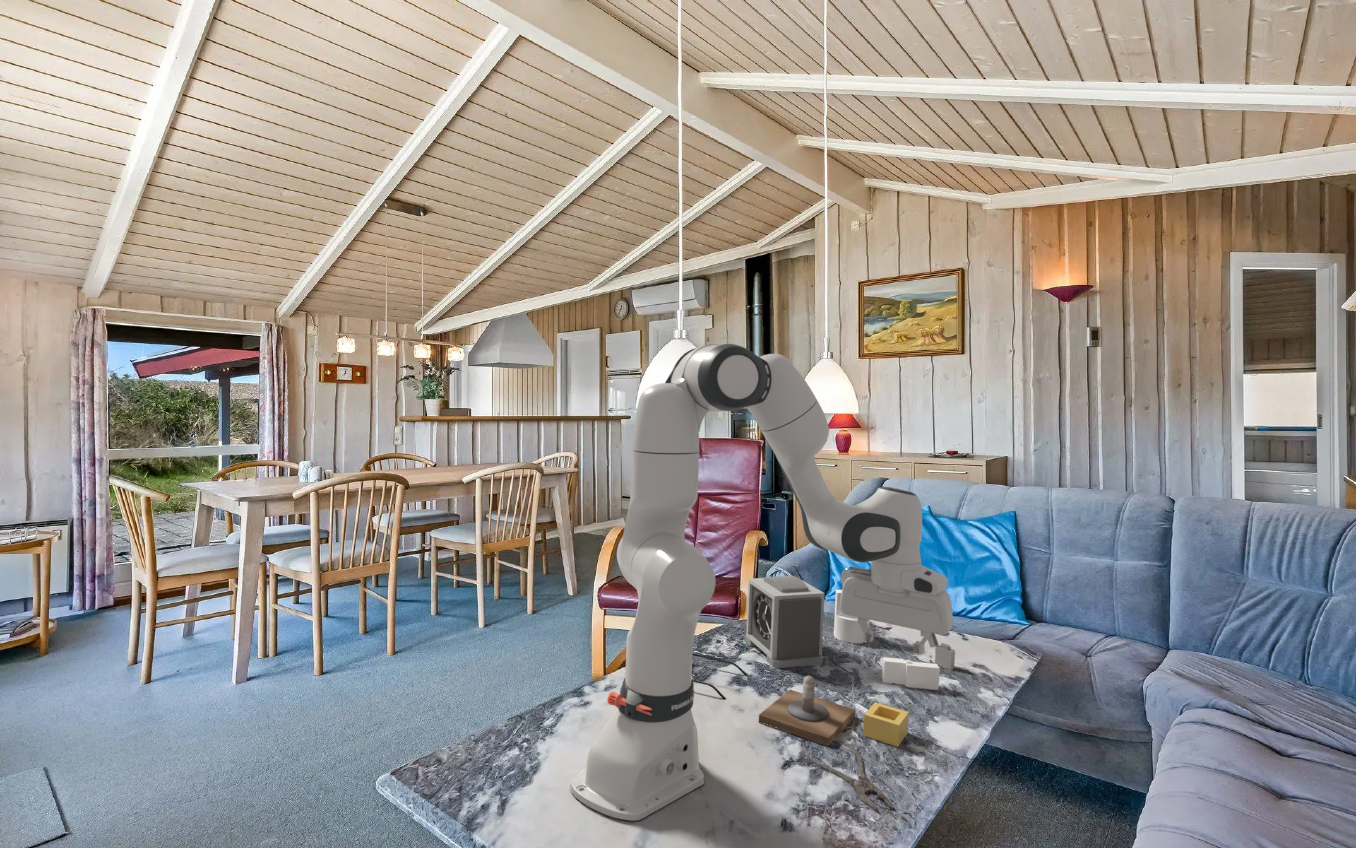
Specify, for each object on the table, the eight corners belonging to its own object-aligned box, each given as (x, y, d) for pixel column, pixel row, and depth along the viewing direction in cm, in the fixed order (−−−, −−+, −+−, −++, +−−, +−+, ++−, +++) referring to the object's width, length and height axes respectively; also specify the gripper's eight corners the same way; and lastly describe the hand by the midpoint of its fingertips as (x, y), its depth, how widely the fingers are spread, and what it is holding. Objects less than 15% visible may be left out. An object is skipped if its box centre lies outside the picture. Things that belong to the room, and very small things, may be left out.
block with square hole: (898, 747, 119) (899, 725, 119) (863, 735, 123) (864, 714, 122) (907, 732, 124) (908, 712, 124) (874, 722, 128) (875, 702, 128)
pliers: (839, 736, 121) (924, 796, 103) (839, 740, 121) (924, 801, 103) (797, 747, 117) (878, 811, 99) (796, 751, 117) (877, 817, 99)
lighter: (954, 668, 156) (956, 635, 156) (951, 670, 155) (952, 636, 154) (926, 658, 161) (928, 626, 161) (922, 660, 160) (924, 627, 160)
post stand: (828, 746, 118) (830, 699, 118) (758, 722, 126) (760, 678, 126) (854, 716, 130) (856, 674, 129) (789, 696, 138) (791, 656, 137)
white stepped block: (951, 689, 145) (953, 664, 145) (927, 704, 137) (929, 678, 137) (889, 667, 156) (890, 643, 156) (863, 680, 148) (865, 655, 148)
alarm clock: (743, 640, 169) (746, 569, 169) (789, 636, 173) (792, 567, 173) (774, 669, 152) (778, 590, 151) (825, 664, 156) (828, 587, 155)
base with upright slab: (834, 641, 171) (837, 596, 170) (832, 629, 179) (834, 586, 179) (870, 645, 169) (873, 599, 169) (866, 632, 178) (868, 589, 178)
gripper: (835, 568, 126) (833, 639, 127) (948, 587, 114) (945, 665, 115) (847, 561, 131) (845, 629, 132) (956, 579, 120) (953, 654, 120)
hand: (893, 646), depth 123 cm, fingers open, 8 cm apart
